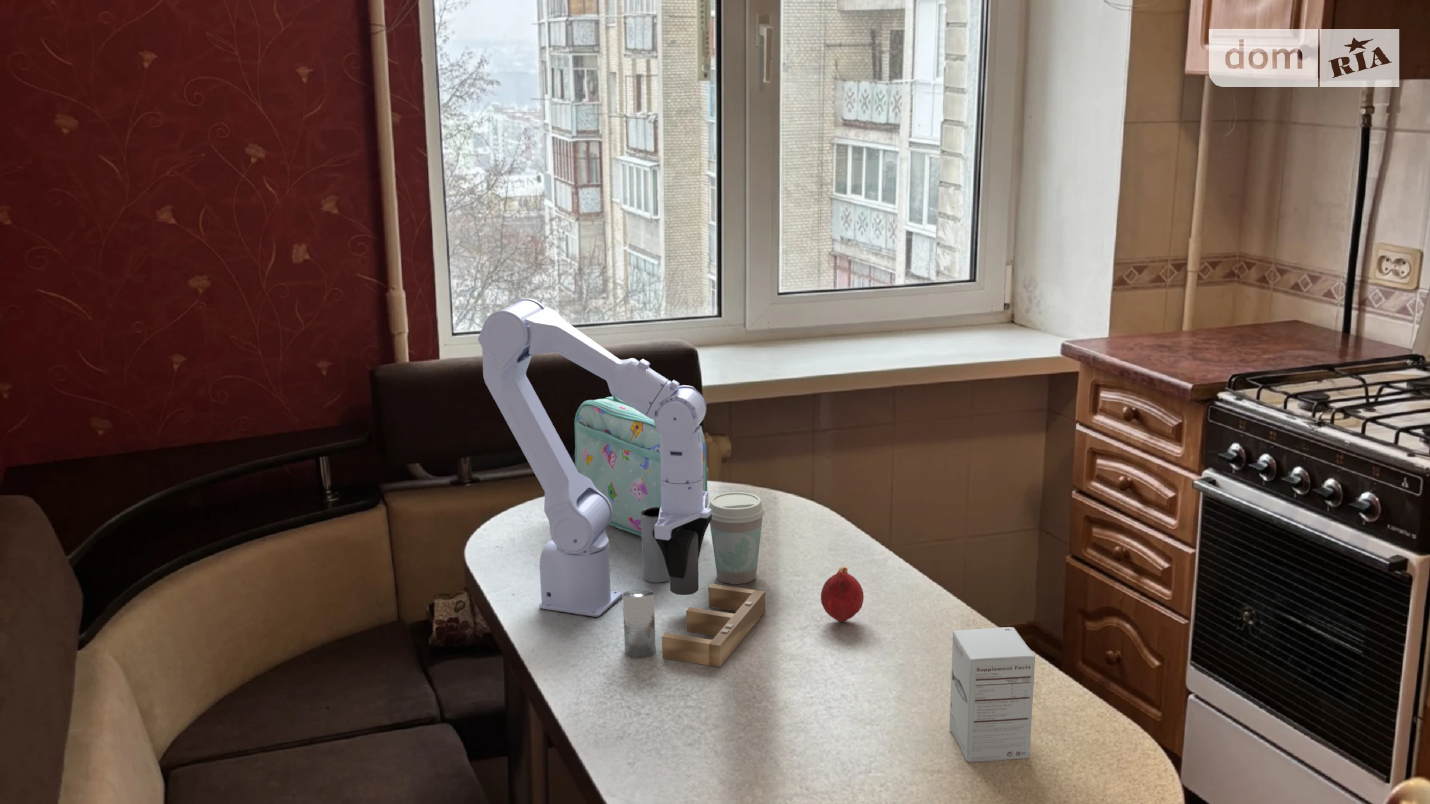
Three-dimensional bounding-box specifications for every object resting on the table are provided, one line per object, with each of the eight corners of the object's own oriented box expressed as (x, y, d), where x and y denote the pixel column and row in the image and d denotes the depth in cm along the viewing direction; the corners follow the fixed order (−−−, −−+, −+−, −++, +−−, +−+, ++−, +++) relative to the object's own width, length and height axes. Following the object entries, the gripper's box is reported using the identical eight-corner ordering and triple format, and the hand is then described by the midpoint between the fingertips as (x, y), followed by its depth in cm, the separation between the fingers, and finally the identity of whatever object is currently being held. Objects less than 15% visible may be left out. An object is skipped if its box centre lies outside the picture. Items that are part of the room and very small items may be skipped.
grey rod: (619, 655, 165) (617, 598, 163) (632, 642, 168) (630, 586, 166) (648, 660, 163) (646, 602, 161) (660, 646, 167) (658, 590, 165)
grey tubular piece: (677, 572, 190) (676, 508, 188) (666, 584, 186) (664, 518, 184) (649, 569, 192) (647, 505, 189) (638, 580, 188) (636, 515, 185)
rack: (662, 657, 164) (661, 635, 163) (711, 603, 180) (711, 582, 179) (720, 667, 161) (719, 644, 160) (765, 611, 177) (765, 590, 176)
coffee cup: (699, 583, 187) (697, 506, 183) (720, 561, 194) (719, 487, 191) (753, 591, 183) (752, 513, 180) (773, 569, 191) (772, 494, 188)
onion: (861, 632, 170) (861, 577, 168) (818, 629, 171) (818, 574, 169) (865, 614, 175) (865, 560, 173) (823, 611, 177) (823, 558, 174)
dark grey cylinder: (665, 592, 175) (664, 538, 173) (676, 581, 179) (675, 528, 177) (692, 596, 174) (691, 542, 172) (702, 585, 177) (702, 532, 175)
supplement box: (947, 729, 146) (951, 628, 142) (1010, 725, 146) (1015, 625, 143) (965, 764, 139) (969, 658, 135) (1031, 759, 139) (1037, 655, 136)
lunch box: (564, 512, 217) (558, 391, 211) (612, 497, 223) (607, 379, 218) (666, 554, 198) (662, 422, 192) (715, 537, 204) (712, 409, 199)
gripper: (688, 497, 164) (690, 594, 168) (728, 464, 177) (728, 555, 181) (639, 491, 166) (641, 587, 170) (681, 459, 179) (683, 548, 183)
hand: (683, 570), depth 176 cm, fingers closed on dark grey cylinder, 4 cm apart
